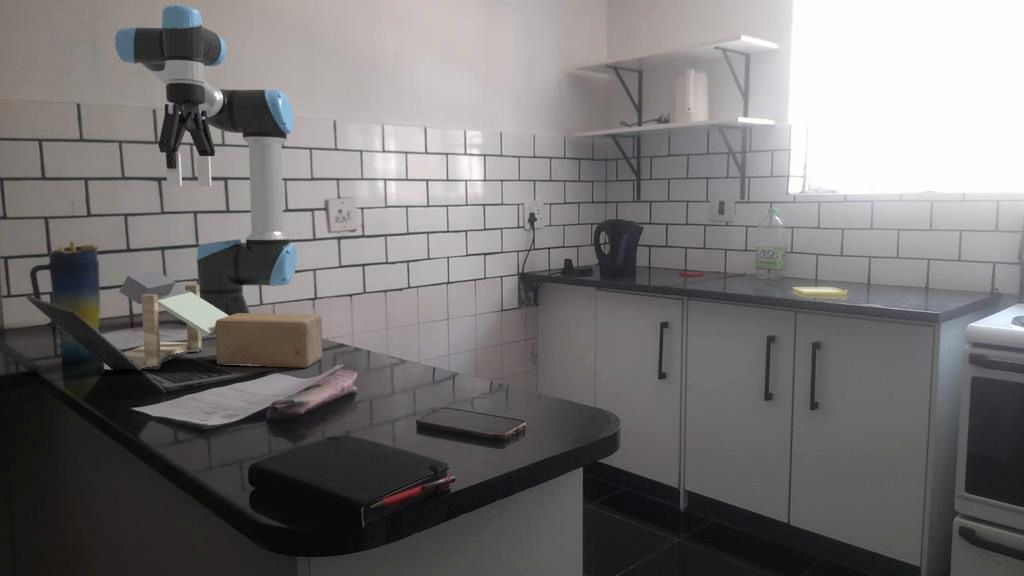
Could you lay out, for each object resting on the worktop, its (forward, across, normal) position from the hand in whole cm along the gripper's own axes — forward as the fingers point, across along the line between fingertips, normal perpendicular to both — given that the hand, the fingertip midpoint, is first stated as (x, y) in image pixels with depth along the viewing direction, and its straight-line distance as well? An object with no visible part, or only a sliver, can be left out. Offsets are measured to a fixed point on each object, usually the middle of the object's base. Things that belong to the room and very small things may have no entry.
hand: (190, 185), depth 157 cm
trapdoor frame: (+38, +3, -8) cm, 39 cm away
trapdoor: (+28, +3, -3) cm, 28 cm away
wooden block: (+33, +4, +8) cm, 34 cm away
